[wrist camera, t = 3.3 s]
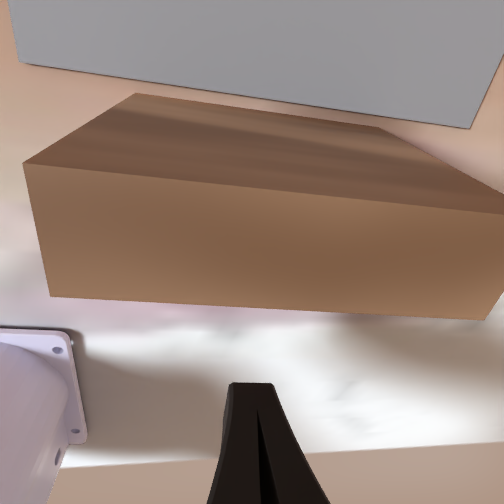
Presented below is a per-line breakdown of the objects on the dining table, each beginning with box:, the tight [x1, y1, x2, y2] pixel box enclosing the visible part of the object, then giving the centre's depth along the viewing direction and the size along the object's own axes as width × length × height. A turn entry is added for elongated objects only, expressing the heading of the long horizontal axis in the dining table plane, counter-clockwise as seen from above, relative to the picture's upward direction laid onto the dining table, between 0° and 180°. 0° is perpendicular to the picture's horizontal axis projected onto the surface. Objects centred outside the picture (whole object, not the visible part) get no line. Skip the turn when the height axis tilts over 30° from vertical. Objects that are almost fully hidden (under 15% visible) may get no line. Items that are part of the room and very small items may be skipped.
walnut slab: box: [22, 93, 504, 320], centre depth 10 cm, size 3×9×8 cm, turn 81°
